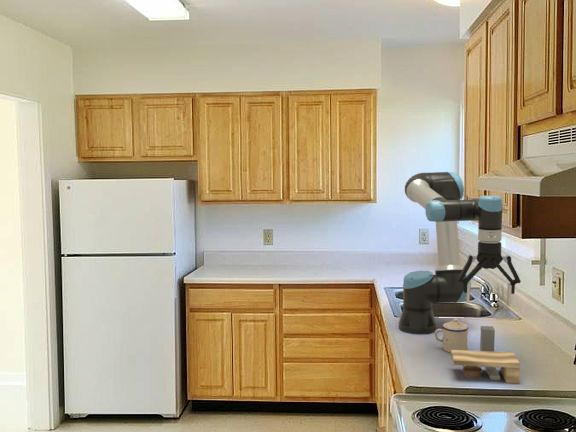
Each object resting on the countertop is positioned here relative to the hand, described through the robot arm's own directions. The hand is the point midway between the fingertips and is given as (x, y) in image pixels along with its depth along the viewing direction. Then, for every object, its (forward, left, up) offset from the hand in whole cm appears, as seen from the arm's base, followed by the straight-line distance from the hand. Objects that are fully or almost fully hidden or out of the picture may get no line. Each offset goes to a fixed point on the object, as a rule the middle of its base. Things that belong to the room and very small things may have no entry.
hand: (488, 302), depth 201 cm
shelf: (+13, -2, -21) cm, 25 cm away
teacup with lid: (-11, -11, -21) cm, 26 cm away
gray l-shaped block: (+7, 0, -21) cm, 22 cm away
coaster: (+12, -7, -21) cm, 25 cm away
